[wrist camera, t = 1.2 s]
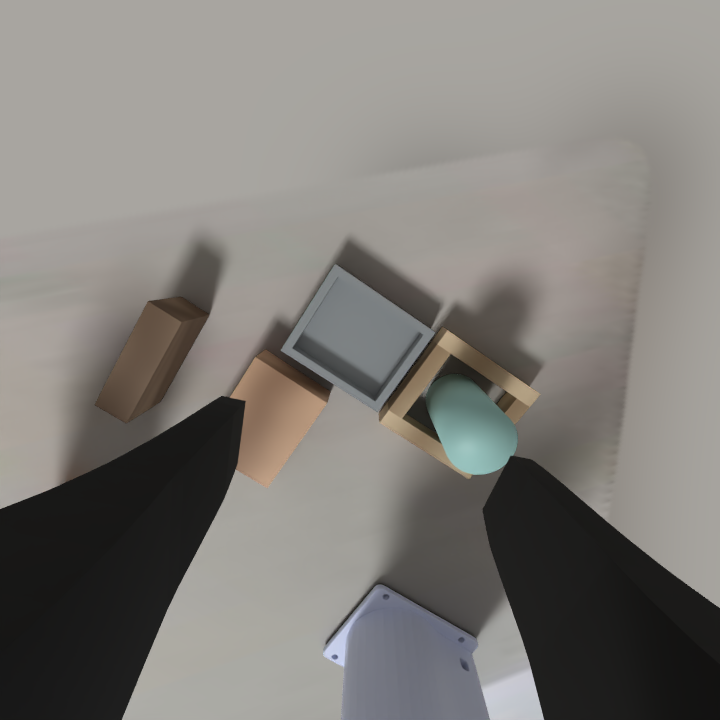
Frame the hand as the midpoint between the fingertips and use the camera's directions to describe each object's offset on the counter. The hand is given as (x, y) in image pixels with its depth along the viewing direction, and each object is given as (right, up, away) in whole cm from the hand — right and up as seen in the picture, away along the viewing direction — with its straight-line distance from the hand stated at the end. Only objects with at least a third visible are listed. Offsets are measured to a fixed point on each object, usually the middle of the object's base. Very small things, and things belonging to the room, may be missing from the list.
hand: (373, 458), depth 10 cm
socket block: (+6, 0, +14) cm, 15 cm away
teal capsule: (+6, 0, +14) cm, 15 cm away
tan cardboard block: (-6, -1, +15) cm, 16 cm away
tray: (-1, +4, +13) cm, 14 cm away
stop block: (-13, +3, +14) cm, 19 cm away
